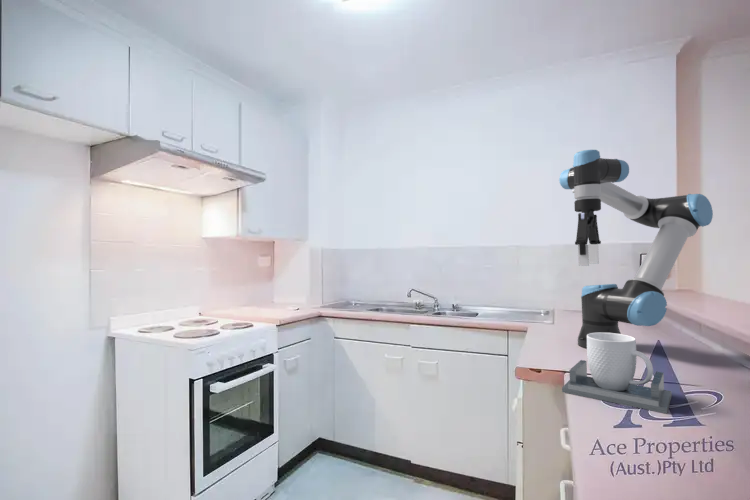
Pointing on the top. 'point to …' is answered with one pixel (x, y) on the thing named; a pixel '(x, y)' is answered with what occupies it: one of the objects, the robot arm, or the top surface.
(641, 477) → the top surface
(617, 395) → the dock
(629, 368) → the mug
